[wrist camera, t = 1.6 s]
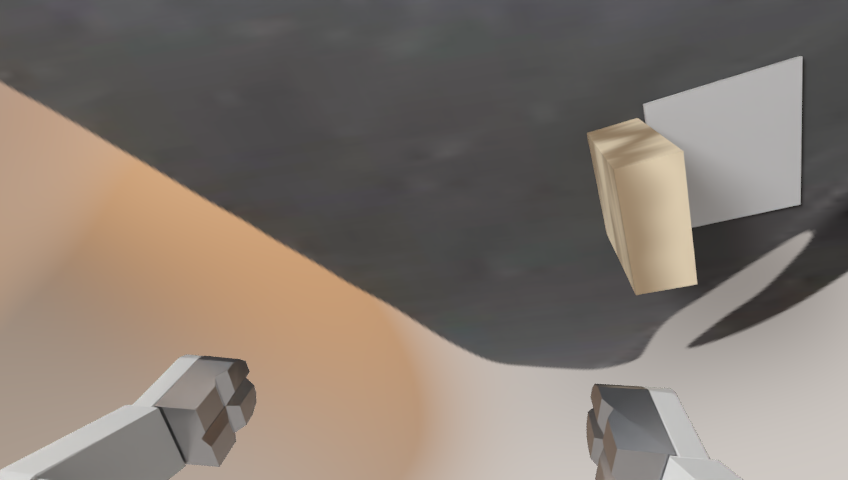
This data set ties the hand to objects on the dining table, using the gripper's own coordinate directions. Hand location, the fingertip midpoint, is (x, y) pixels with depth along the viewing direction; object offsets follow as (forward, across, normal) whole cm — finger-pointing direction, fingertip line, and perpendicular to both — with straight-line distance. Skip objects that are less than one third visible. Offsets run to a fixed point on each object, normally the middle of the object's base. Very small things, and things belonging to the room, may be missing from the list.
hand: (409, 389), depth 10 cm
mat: (+30, -21, +2) cm, 36 cm away
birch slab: (+30, -13, +5) cm, 33 cm away
